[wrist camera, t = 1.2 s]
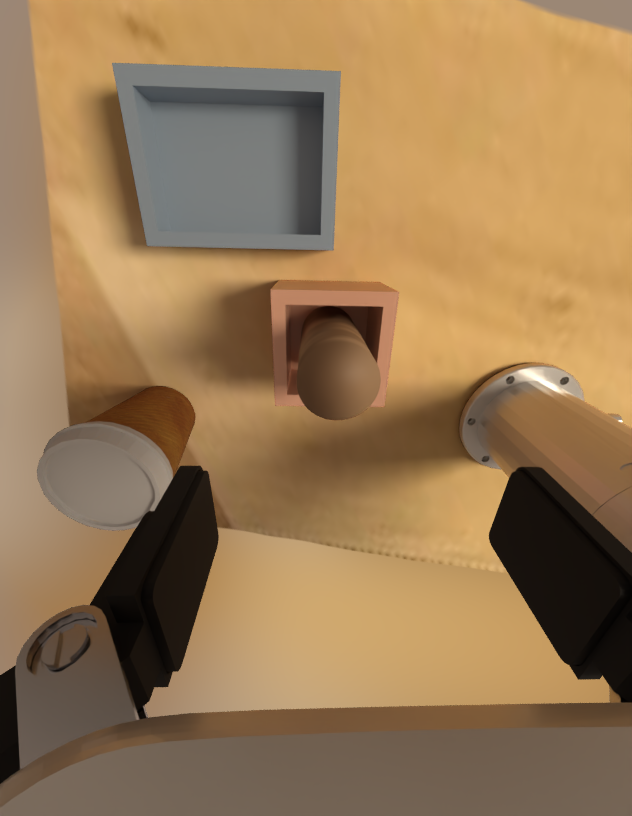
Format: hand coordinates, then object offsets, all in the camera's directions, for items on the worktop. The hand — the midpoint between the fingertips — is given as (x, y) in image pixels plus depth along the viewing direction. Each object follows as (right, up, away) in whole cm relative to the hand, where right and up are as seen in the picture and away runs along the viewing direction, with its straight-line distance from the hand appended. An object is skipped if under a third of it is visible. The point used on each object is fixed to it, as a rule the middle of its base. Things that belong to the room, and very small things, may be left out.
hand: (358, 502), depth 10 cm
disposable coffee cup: (-17, +3, +24) cm, 30 cm away
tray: (-7, +21, +15) cm, 27 cm away
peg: (0, +10, +20) cm, 22 cm away
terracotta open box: (0, +10, +21) cm, 23 cm away
